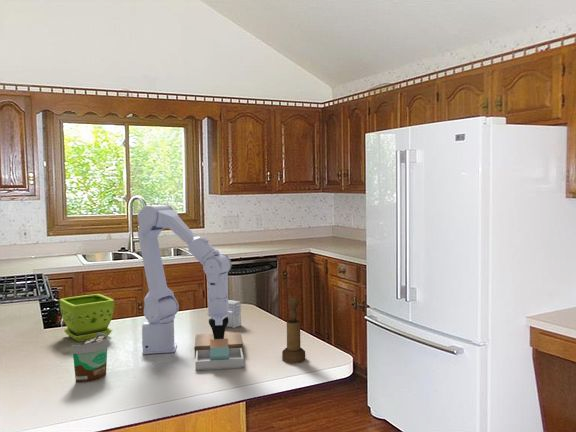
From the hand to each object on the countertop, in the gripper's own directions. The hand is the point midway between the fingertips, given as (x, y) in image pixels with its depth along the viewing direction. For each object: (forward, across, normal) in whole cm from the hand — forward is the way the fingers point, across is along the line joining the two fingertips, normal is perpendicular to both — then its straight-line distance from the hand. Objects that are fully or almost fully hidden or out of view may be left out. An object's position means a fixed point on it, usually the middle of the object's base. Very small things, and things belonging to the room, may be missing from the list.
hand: (218, 343), depth 150 cm
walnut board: (+4, +7, 0) cm, 8 cm away
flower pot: (+4, +30, +43) cm, 53 cm away
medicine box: (+4, +35, -4) cm, 35 cm away
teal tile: (0, -7, 0) cm, 7 cm away
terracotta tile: (+2, -2, 0) cm, 3 cm away
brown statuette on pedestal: (+4, -5, -21) cm, 22 cm away
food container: (+4, -9, +32) cm, 34 cm away
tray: (+4, -4, 0) cm, 6 cm away
